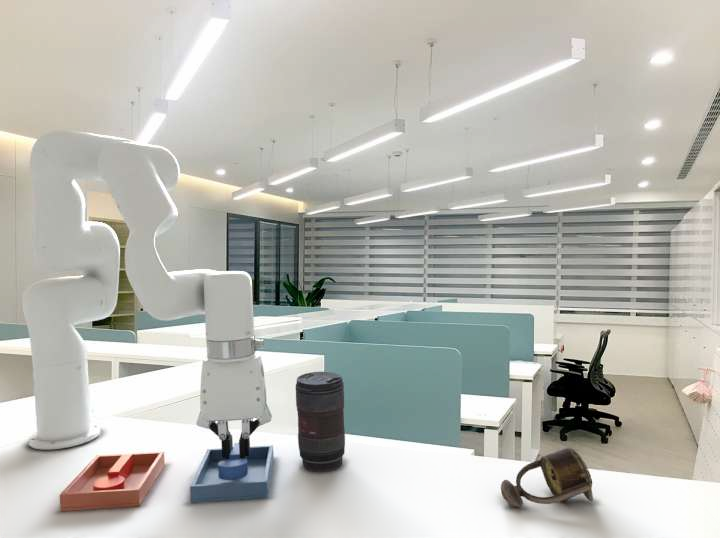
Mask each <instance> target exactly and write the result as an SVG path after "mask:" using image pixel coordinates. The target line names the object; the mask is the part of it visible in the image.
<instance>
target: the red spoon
mask: <svg viewBox="0 0 720 538" xmlns="http://www.w3.org/2000/svg"><path fill="white" fill-rule="evenodd" d="M132 470H133V465H132V455H122V456H121V457H120V458H119V460H118V461H117V462H116V463H115V464H114V466H113V467H112V468H111V469H110V470H109V472H108V476H107V477H103V478H100V479H98V480H96V481H95V482H94V483H93V491H102V490H118V489H125V479H126V478H127V477H128V475H129V474H130V472H131V471H132Z"/></svg>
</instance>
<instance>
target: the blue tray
mask: <svg viewBox="0 0 720 538" xmlns="http://www.w3.org/2000/svg"><path fill="white" fill-rule="evenodd" d="M274 457H275V456H274V445H272V444H271V445H255V446H250V456H247V457H246V460H247V468H248V474H247V476H245V477H243V478H240V479H235V480H223V479H220V478H219V476H218V463H219V462H221V461H223V460H226V458H223V457H222V447H219V448H207V450H206V452H205V454H204V456H203V457H202V459H201V462H200V464H199V467H198V469H197V471H196V472H195V475H194V477H193V479H192V481H191V484H190V486H189V493H190V494H189V495H190V503H191V504H194V503H195V504H197V503H208V502H209V503H211V502H226V501H238V500H239V501H241V500H256V499H257V500H258V499H267V498H268V496H269V490H270V485H271V478H272V471H273V466H274V461H275V460H274V459H275V458H274Z"/></svg>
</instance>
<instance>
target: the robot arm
mask: <svg viewBox="0 0 720 538" xmlns="http://www.w3.org/2000/svg"><path fill="white" fill-rule="evenodd" d="M29 170H30V177H31V181H32V186H33V192H34V217H33V218H34V219H33V257H34V262H35V263H36V265H37V267H39V268H40V269H42V270H43V271H47V272H55V273H57V272H61V273H62V272H76V271H82V275H75V276H62V277H61V276H60V277H50V278H43V279H41V280H38V281H35V282H33V283H32V284H30V285H29V286H28V287H27V288H26V289H25V290H24V291H23V293H22V296H21V307H22V312H23V315H24V320H25V323H26V325H27V330H28V336H29V342H30V350H31V363H32V378H33V390H34V406H35V419H36V421H35V422H36V431H35V432H34V433H32V434H31V435H30V436H29V437H28V441H27V442H28V446H29V447H31V448H32V449H36V450H44V451H45V450H47V451H50V450H61V449H66V448H73V447H76V446H79V445H83V444H86V443H88V442H91V441H93V440H94V439H96V438H97V437H99V436H100V434H101V426H100V425H99V424H98V423H95V422H92V413H93V412H94V407H93V406H92V405H91V397H90V396H91V395H90V379H89V364H88V362H89V361H88V350H87V345H86V343H85V341H84V339H83V337H82V336H81V334H80V333H79V332H78V330H77V329H76V327H75V325H79V324H86V323H90V322H95V321H100V320H104V319H106V318H108V317H110V316H111V315H112V314H113V312H114V311H115V310H116V306H117V302H118V295H119V283H120V282H119V281H120V265H121V264H120V263H121V246H120V241H119V238H118V235H117V233H116V232H115V230H114V229H113V228H112V227H111V226H109V225H108V224H107V223H103V222H99V221H86V199H85V195H84V193H83V191H82V190H81V188H80V186H79V184H78V183H77V181H76V180H90V181H98V182H99V181H101V182H103V183H104V185H105V186H106V188H107V190H108V192H109V194H110V196H111V198H112V200H113V202H114V203H115V205H116V208H117V209H118V212H119V213H120V215H121V217H122V219H123V221H124V223H125V224H126V227H127V228H128V231H129V234H128V237H127V240H126V243H125V248H124V269H125V275H126V277H127V279H128V282H129V285H130V287H131V288H132V290H133V293H134V294H135V296H136V297H137V300H138V301H139V303H140V305H141V306H142V307H143V309H144V310H145V312H147V314H148V315H150V316H151V317H152V318H153V319H156V320H158V321H162V322H163V321H166V322H167V321H174V320H180V319H183V318H189V317H195V316H200V315H204V323H205V340H206V341H205V342H206V356H204V357H203V360H202V365H201V374H200V391H199V392H200V393H199V394H200V395H199V397H200V399H199V406H200V407H199V408H200V411H199V413H198V417H197V420H196V426H197V427H201V428H204V429H206V430H207V429H208V430H210V431H211V432H212V433H214V434H215V436H217V437H218V439H219V440H220V441H221V448H222V457H223V458H226V459H229V455H230V453H231V451H232V449H233V446H234V442H233V434H232V433H231V431H230V429H229V422H231V421H233V422H234V421H241V431H240V432H241V433H240V435H239V436H240V437H239V439H238V443H239V451H240V458H243V459H246V457H247V456H250V447H251V443H250V442H251V441H250V440H251V439H250V437H251V435H252V434H253V433H254V432H255V431H256V430H257V429H258V428H259V427H261V426H263V425H266V424H268V423H270V422H271V421H272V418H273V416H272V415H273V414H272V413H271V410H270V409H269V408H270V407H269V406H268V403H267V389H266V379H265V370H264V364H263V360H262V357H261V353H259V352H257V350H260V349H264V348H265V341H264V339H259V338H258V337H256V335H255V325H254V324H255V322H254V321H255V320H254V319H255V317H254V299H253V280H252V277H251V275H250V274H249V273H248V272H247V271H243V270H225V271H223V270H221V271H218V270H214V269H208V268H200V269H199V268H198V269H187V270H177V271H169V272H168V271H167V269H166V267H165V266H164V264H163V262H162V260H161V258H160V256H159V254H158V250H157V248H156V238H157V237H159V236H161V235H162V234H164V233H165V232H167V231H168V230H170V229H171V227H173V226H174V224H175V223H176V222H177V220H178V217H179V213H178V212H179V211H178V208H177V206H176V205H175V203H174V202H173V199H172V197H171V196H170V194H169V192H170V191H172V190H173V189H174V188H175V187H176V186H177V184H178V183H179V180H180V174H181V173H180V172H181V171H180V165H179V163H178V160H177V158H176V157H175V156H174V154H173V153H172V152H171V151H170V150H169V149H167V148H165V147H163V146H160V145H153V144H148V143H144V142H140V141H135V140H131V139H127V138H122V137H116V136H111V135H103V134H98V133H90V132H84V131H78V130H77V131H76V130H65V129H62V130H61V129H60V130H51V131H47V132H45V133H43V134H42V135H40V136H39V137H38V138H37V139H36V141H34V144H33V146H32V148H31V151H30V155H29Z"/></svg>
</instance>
